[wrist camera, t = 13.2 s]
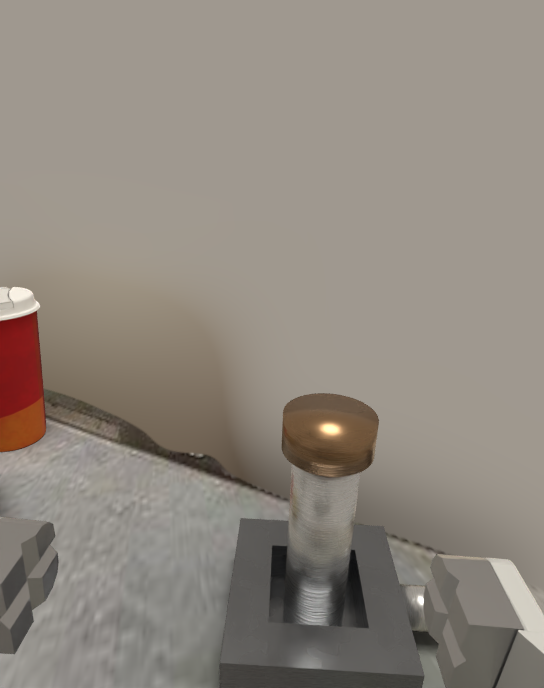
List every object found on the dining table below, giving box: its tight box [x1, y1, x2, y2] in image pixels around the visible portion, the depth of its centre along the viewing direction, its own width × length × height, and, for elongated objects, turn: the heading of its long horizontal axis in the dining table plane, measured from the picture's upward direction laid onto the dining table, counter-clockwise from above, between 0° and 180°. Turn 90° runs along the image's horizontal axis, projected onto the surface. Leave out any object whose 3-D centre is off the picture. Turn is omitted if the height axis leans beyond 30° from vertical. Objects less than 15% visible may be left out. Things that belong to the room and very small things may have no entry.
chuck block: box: [220, 518, 428, 688], centre depth 27 cm, size 13×10×4 cm
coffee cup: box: [0, 287, 46, 452], centre depth 44 cm, size 8×8×15 cm
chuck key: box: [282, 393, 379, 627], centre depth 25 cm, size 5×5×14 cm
